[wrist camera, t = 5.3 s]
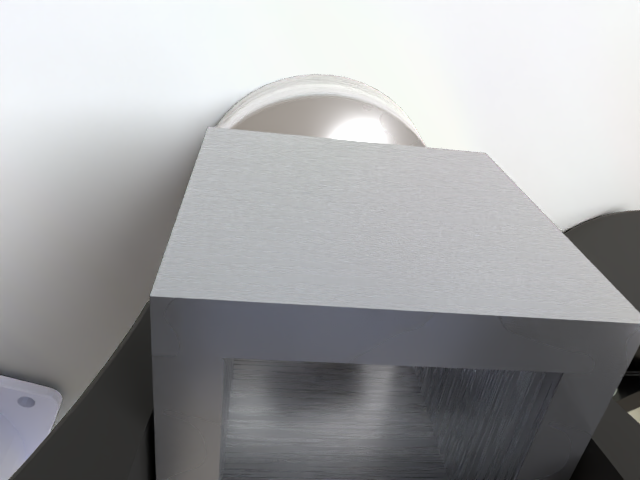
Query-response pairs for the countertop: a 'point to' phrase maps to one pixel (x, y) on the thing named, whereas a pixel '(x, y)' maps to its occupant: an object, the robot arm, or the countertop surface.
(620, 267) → the pneumatic valve
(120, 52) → the countertop surface
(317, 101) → the ratchet
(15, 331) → the countertop surface
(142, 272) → the countertop surface
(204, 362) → the hollow square tube
